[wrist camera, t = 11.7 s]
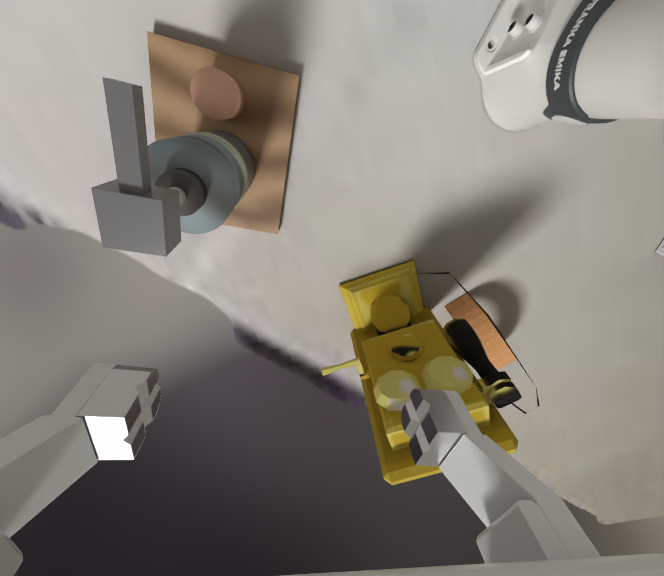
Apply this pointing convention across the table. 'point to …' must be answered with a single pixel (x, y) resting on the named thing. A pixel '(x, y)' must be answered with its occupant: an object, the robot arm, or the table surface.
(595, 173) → the table surface
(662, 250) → the ink cartridge box
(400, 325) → the vintage telephone
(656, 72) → the robot arm
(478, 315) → the arch
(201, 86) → the pink egg shape
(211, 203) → the stand
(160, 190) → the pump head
